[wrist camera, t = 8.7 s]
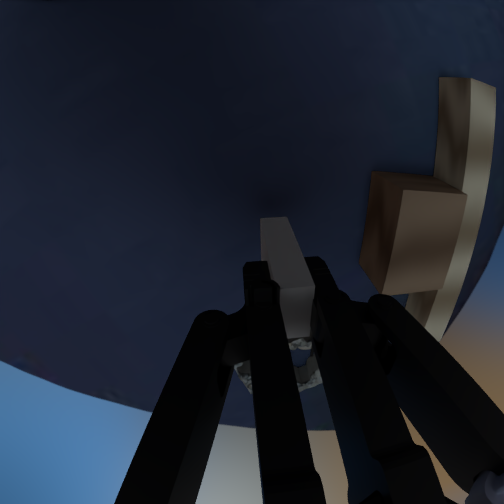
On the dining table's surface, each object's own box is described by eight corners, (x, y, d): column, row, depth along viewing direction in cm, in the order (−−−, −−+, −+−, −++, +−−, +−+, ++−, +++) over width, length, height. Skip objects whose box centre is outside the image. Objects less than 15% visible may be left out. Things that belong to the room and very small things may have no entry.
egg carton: (333, 300, 27) (347, 330, 23) (347, 350, 30) (358, 378, 27) (225, 339, 28) (226, 371, 25) (254, 382, 32) (258, 412, 28)
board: (438, 77, 18) (470, 78, 14) (464, 84, 18) (495, 87, 14) (400, 321, 29) (416, 347, 25) (422, 317, 29) (439, 341, 25)
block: (371, 170, 21) (403, 189, 17) (431, 175, 22) (467, 194, 17) (358, 262, 25) (381, 296, 21) (414, 259, 25) (442, 289, 21)
